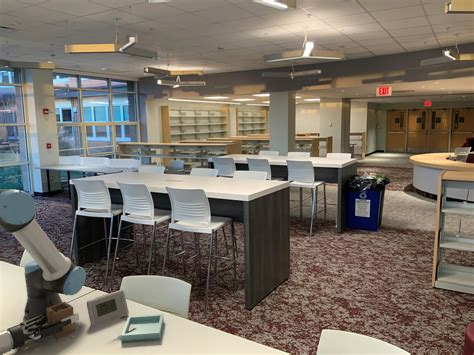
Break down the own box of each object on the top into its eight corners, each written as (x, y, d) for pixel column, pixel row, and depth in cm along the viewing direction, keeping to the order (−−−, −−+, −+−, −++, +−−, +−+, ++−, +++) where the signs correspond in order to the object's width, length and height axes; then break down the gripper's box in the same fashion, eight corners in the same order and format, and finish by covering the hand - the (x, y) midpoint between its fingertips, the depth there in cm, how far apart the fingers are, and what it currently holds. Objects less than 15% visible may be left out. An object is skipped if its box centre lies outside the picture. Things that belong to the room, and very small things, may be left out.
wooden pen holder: (48, 332, 145) (46, 308, 144) (66, 325, 151) (64, 301, 149) (57, 339, 141) (54, 314, 139) (75, 331, 146) (73, 306, 145)
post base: (53, 329, 151) (50, 304, 149) (81, 327, 152) (79, 302, 150) (41, 344, 140) (38, 318, 138) (72, 342, 141) (69, 316, 139)
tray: (128, 323, 154) (128, 316, 153) (163, 321, 155) (163, 314, 155) (121, 343, 140) (120, 335, 140) (159, 340, 141) (159, 332, 141)
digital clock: (90, 330, 149) (88, 305, 148) (86, 320, 157) (84, 296, 155) (131, 318, 157) (129, 294, 156) (125, 310, 165) (123, 286, 164)
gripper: (-1, 339, 138) (62, 314, 156) (21, 360, 125) (87, 330, 143) (-3, 320, 137) (60, 297, 154) (19, 339, 124) (85, 312, 142)
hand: (73, 313), depth 149 cm, fingers open, 7 cm apart
